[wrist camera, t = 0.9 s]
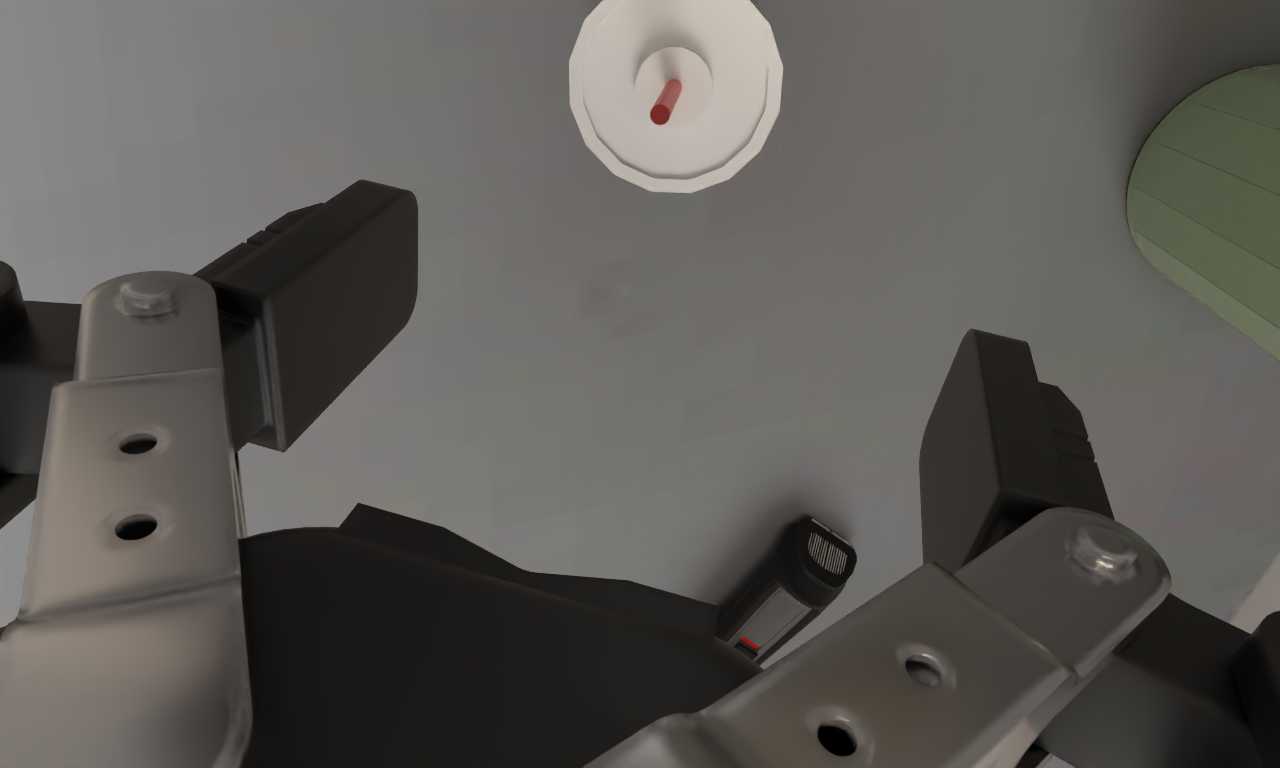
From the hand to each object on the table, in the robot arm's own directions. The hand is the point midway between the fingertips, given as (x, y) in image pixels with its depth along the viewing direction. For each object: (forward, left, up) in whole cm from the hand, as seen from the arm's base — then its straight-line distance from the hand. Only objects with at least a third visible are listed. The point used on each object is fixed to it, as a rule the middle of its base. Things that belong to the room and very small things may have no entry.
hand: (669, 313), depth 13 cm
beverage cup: (-1, -1, -23) cm, 24 cm away
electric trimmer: (+25, +7, -23) cm, 35 cm away
